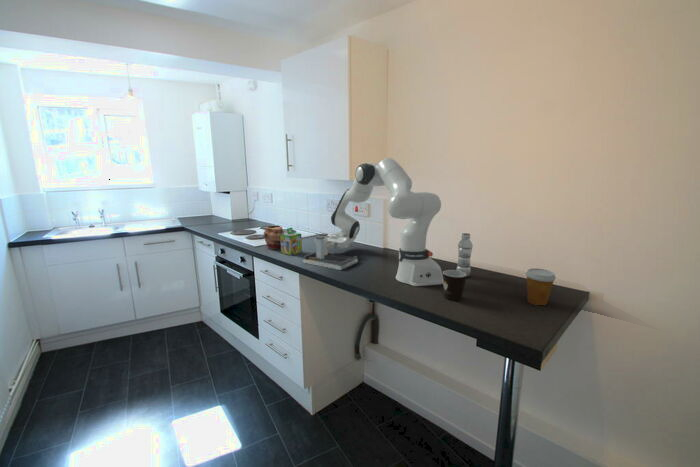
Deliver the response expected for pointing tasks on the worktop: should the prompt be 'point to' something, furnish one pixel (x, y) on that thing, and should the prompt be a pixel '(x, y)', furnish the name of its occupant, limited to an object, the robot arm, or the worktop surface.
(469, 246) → the plastic bottle
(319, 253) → the cylinder
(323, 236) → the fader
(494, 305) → the worktop surface
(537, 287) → the disposable coffee cup
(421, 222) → the robot arm
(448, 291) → the coffee mug
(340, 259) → the grey rectangular tray
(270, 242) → the decorative planter
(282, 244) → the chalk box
